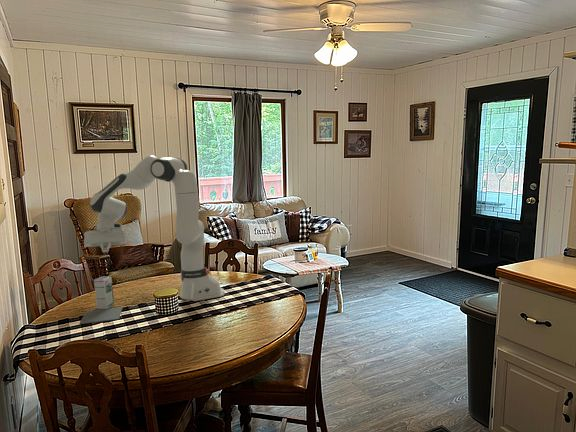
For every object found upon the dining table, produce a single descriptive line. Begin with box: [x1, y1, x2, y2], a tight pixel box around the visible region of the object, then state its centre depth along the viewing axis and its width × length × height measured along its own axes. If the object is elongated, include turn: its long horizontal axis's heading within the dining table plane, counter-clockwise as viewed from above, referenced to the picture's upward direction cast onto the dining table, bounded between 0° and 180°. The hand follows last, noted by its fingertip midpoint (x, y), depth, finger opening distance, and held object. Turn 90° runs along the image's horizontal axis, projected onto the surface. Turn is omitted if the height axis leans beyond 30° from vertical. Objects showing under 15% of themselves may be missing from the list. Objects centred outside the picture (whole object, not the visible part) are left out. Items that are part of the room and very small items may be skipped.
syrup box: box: [93, 275, 115, 310], centre depth 204 cm, size 6×6×14 cm
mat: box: [79, 306, 123, 325], centre depth 193 cm, size 16×16×1 cm
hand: (105, 251), depth 215 cm, fingers closed
